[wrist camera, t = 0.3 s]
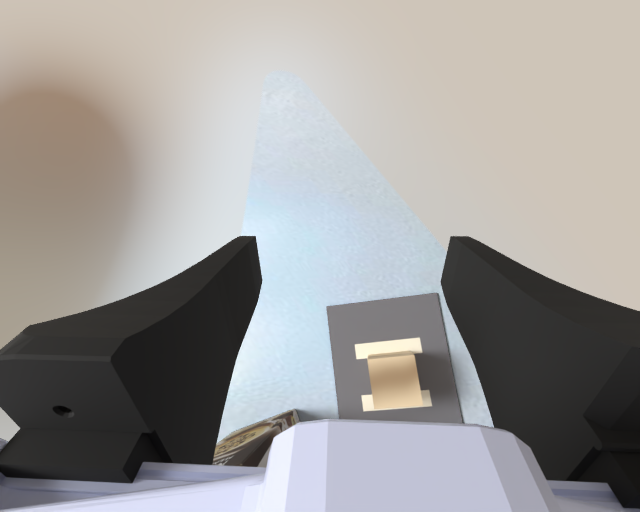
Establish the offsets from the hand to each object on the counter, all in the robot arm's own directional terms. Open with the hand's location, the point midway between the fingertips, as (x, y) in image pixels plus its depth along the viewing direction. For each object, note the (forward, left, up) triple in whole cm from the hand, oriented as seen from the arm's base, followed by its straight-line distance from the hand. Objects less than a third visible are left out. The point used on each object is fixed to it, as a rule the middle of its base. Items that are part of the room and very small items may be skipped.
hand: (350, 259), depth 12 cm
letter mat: (-9, -2, -29) cm, 31 cm away
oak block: (-9, -2, -29) cm, 30 cm away
